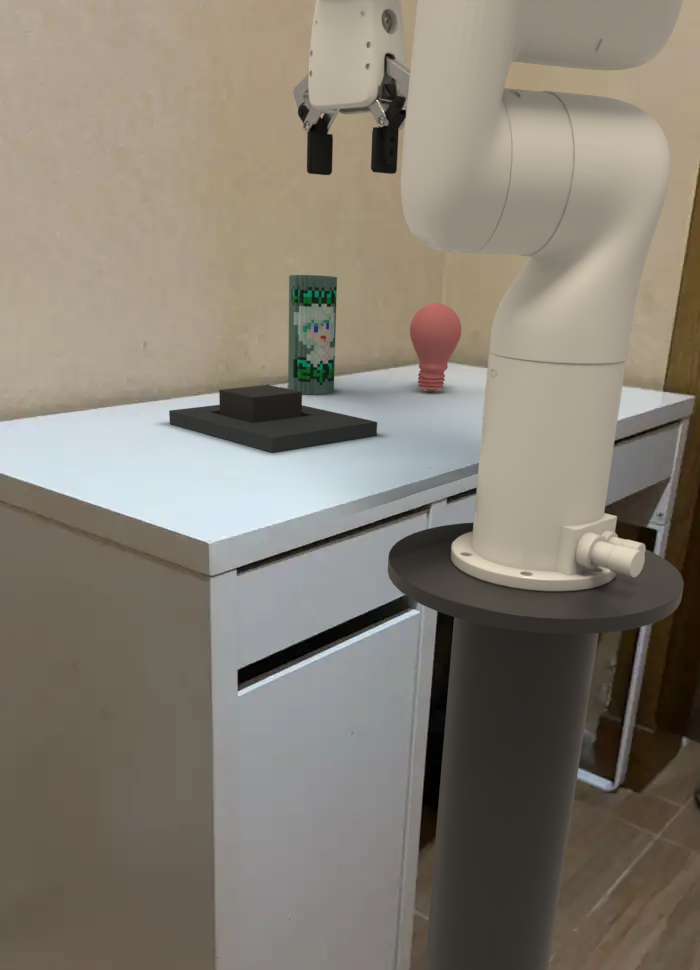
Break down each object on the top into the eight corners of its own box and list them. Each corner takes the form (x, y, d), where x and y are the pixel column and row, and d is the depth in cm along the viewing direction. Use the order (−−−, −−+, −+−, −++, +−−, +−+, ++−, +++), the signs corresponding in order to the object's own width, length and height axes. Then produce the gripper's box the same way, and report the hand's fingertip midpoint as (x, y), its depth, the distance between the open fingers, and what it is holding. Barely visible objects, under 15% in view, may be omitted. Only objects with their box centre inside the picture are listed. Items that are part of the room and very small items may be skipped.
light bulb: (451, 398, 129) (458, 306, 124) (401, 393, 130) (406, 303, 126) (460, 390, 135) (467, 303, 130) (412, 386, 137) (417, 300, 132)
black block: (301, 427, 106) (302, 391, 104) (253, 434, 101) (253, 397, 100) (267, 419, 110) (267, 384, 108) (219, 425, 105) (219, 389, 103)
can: (300, 395, 126) (302, 277, 121) (282, 388, 131) (283, 274, 126) (340, 393, 129) (344, 277, 123) (321, 386, 134) (323, 275, 128)
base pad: (376, 435, 103) (377, 421, 103) (272, 452, 93) (272, 437, 93) (272, 410, 115) (272, 398, 114) (169, 423, 105) (168, 410, 104)
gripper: (448, -25, 89) (435, 174, 95) (324, 0, 100) (321, 177, 107) (394, -42, 84) (385, 169, 90) (270, -14, 95) (270, 172, 102)
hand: (350, 173), depth 99 cm, fingers open, 9 cm apart
